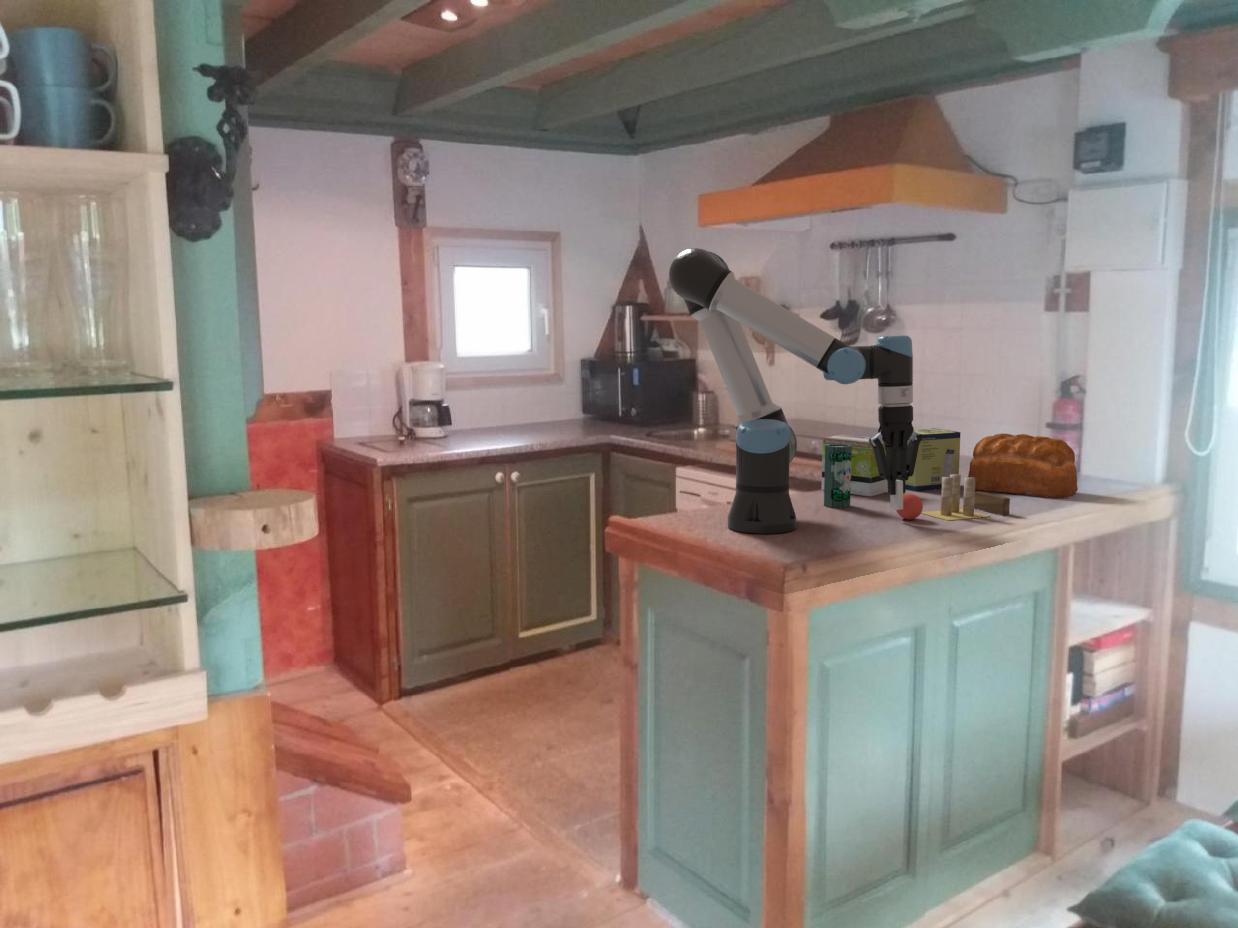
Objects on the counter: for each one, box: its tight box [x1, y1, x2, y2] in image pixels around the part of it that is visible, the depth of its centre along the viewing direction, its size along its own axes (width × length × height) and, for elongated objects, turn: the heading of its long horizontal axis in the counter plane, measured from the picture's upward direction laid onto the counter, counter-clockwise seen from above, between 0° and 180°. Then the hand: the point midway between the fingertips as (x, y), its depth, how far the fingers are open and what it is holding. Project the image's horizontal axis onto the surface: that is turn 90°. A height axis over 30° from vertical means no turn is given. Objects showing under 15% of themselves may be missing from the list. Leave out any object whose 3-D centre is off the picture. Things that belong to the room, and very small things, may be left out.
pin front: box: [940, 477, 953, 516], centre depth 227 cm, size 2×2×9 cm
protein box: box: [905, 428, 962, 493], centre depth 267 cm, size 10×16×16 cm
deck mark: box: [920, 508, 991, 522], centre depth 228 cm, size 12×10×1 cm
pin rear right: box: [962, 476, 976, 516], centre depth 226 cm, size 2×2×9 cm
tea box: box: [821, 434, 888, 497], centre depth 260 cm, size 15×10×15 cm
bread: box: [967, 433, 1079, 499], centre depth 259 cm, size 14×26×16 cm, turn 48°
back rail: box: [974, 491, 1011, 516], centre depth 231 cm, size 2×10×4 cm, turn 21°
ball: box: [895, 492, 924, 520], centre depth 223 cm, size 6×6×6 cm
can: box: [823, 444, 852, 509], centre depth 240 cm, size 6×6×15 cm
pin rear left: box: [950, 474, 962, 513], centre depth 230 cm, size 2×2×9 cm
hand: (896, 508), depth 221 cm, fingers closed
